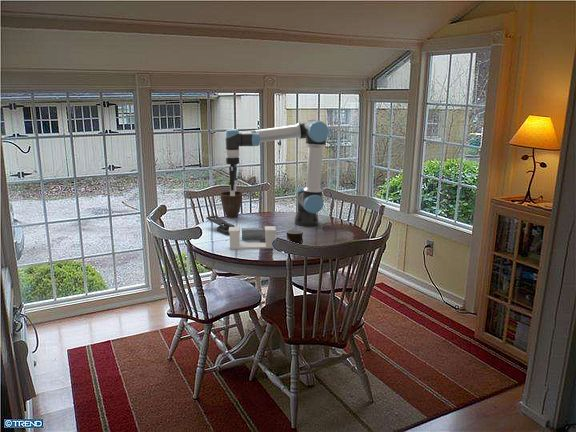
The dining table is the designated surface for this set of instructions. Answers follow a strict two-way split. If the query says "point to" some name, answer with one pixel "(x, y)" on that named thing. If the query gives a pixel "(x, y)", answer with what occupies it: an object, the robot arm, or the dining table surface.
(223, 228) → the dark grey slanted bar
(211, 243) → the dining table surface
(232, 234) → the white u-shaped cradle
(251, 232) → the grey rectangular block
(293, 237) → the coffee mug
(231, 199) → the plant pot
